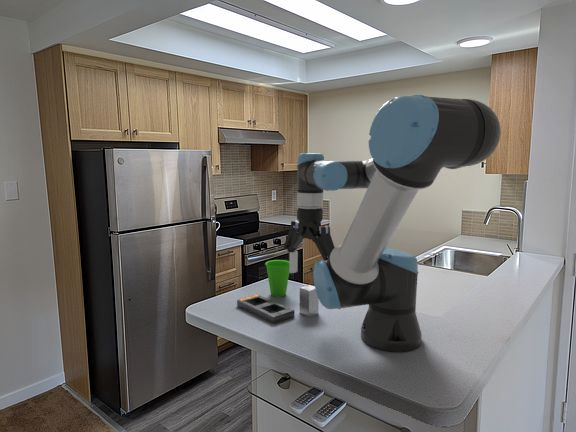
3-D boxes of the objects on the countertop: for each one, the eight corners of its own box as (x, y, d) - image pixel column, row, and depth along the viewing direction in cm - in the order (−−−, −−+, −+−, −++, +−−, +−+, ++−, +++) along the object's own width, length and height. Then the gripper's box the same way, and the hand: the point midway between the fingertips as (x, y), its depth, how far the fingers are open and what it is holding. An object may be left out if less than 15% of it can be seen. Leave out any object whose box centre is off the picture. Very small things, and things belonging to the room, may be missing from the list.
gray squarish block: (318, 313, 118) (318, 288, 117) (308, 317, 115) (309, 290, 114) (308, 309, 121) (309, 284, 120) (299, 313, 118) (299, 287, 117)
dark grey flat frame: (294, 316, 116) (294, 309, 115) (273, 323, 110) (273, 316, 110) (257, 300, 129) (257, 294, 129) (237, 306, 124) (237, 299, 123)
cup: (288, 299, 130) (288, 267, 128) (262, 297, 131) (262, 265, 130) (293, 291, 138) (293, 260, 137) (268, 289, 140) (268, 259, 139)
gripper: (352, 210, 107) (349, 285, 110) (290, 202, 125) (290, 266, 129) (333, 213, 102) (331, 291, 105) (272, 203, 121) (272, 270, 124)
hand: (308, 277), depth 117 cm, fingers open, 13 cm apart
